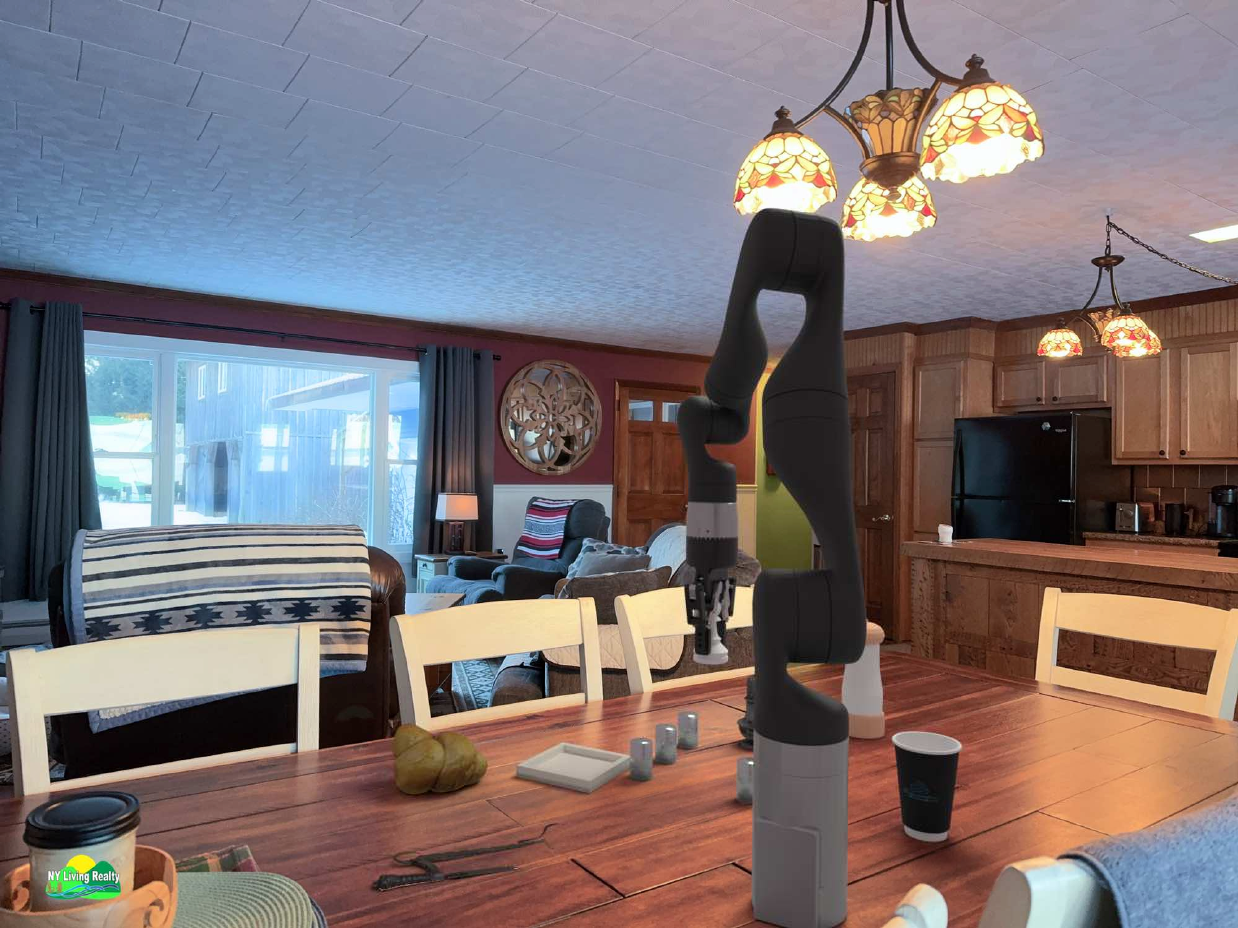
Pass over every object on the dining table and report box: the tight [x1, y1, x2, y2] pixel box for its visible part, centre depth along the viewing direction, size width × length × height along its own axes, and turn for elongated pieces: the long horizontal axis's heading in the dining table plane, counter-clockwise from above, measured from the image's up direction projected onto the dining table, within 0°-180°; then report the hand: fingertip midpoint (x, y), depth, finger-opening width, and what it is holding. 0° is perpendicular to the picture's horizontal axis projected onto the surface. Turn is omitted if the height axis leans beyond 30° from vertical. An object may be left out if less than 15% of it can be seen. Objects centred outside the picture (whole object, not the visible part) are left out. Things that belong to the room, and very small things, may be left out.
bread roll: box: [391, 722, 489, 795], centre depth 114 cm, size 13×10×8 cm
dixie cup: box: [891, 731, 963, 843], centre depth 101 cm, size 8×8×11 cm
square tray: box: [515, 742, 630, 794], centre depth 120 cm, size 12×12×2 cm
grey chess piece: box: [736, 673, 755, 751], centre depth 133 cm, size 6×6×12 cm
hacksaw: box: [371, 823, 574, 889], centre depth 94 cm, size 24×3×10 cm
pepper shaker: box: [841, 619, 886, 740], centre depth 141 cm, size 7×7×19 cm
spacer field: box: [629, 710, 753, 805], centre depth 122 cm, size 19×19×5 cm
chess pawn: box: [692, 602, 729, 665], centre depth 122 cm, size 5×5×9 cm
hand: (710, 650), depth 122 cm, fingers closed on chess pawn, 5 cm apart
